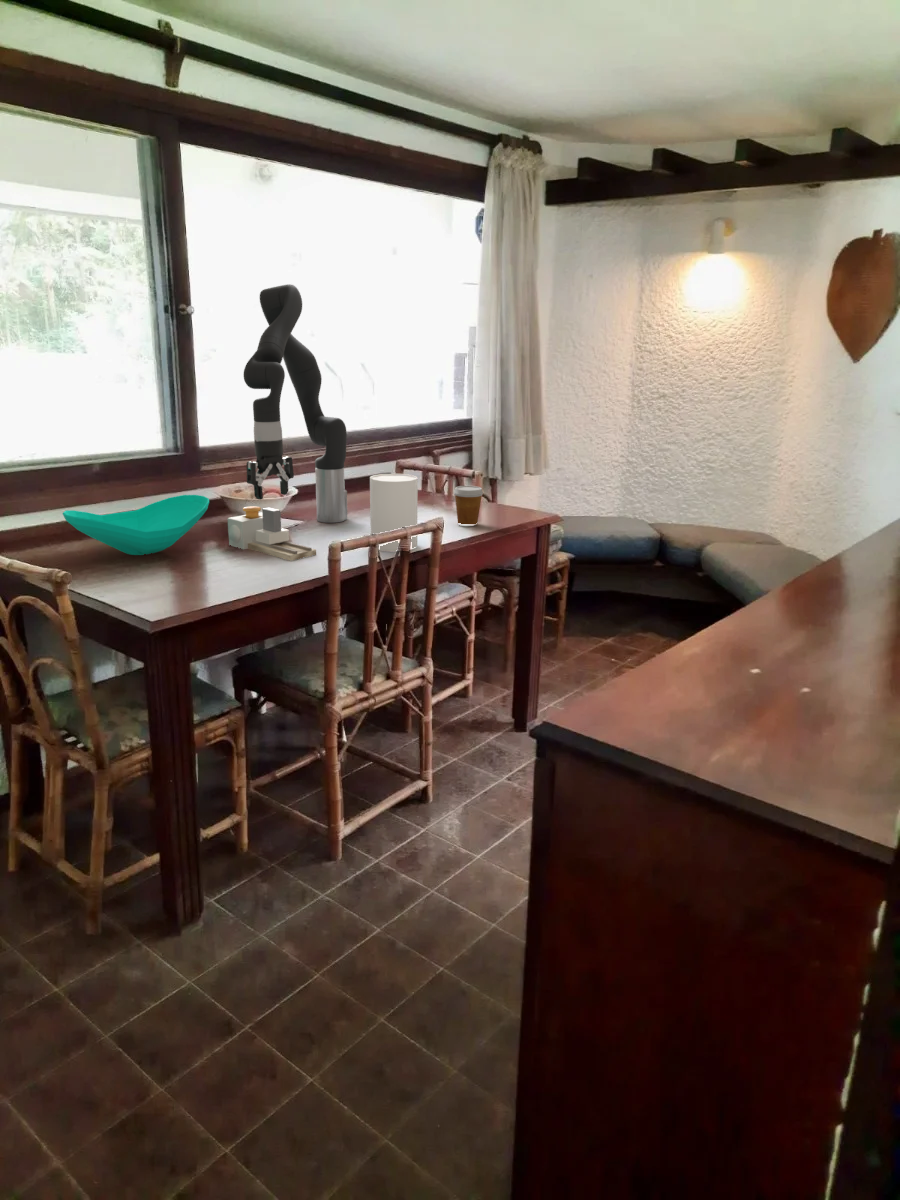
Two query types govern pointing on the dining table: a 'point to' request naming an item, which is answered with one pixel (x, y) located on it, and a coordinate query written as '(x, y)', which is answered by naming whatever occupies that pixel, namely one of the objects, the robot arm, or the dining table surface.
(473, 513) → the disposable coffee cup
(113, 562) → the dining table surface
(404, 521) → the canister
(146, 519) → the table top decor
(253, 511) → the button
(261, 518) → the end cabinet
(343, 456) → the robot arm
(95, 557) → the dining table surface
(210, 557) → the dining table surface
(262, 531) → the carriage
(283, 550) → the rail track
